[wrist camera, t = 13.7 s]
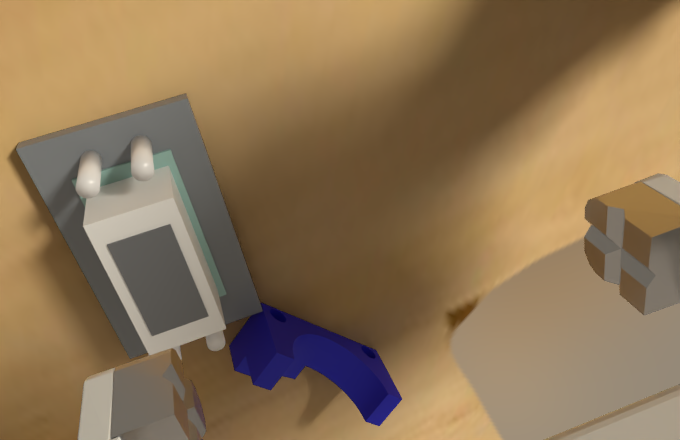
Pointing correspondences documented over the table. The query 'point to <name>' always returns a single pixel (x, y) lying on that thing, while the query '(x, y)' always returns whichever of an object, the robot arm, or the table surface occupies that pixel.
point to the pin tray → (140, 162)
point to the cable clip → (313, 360)
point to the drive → (154, 260)
